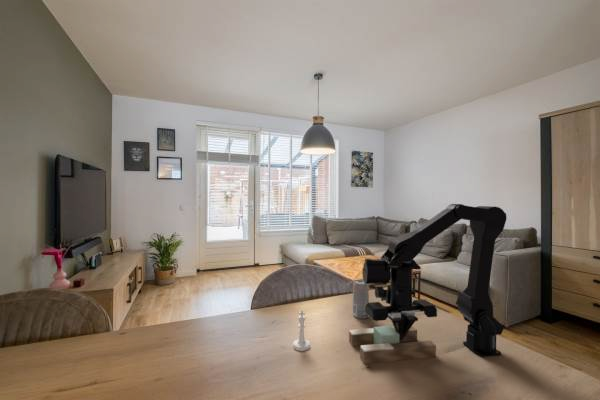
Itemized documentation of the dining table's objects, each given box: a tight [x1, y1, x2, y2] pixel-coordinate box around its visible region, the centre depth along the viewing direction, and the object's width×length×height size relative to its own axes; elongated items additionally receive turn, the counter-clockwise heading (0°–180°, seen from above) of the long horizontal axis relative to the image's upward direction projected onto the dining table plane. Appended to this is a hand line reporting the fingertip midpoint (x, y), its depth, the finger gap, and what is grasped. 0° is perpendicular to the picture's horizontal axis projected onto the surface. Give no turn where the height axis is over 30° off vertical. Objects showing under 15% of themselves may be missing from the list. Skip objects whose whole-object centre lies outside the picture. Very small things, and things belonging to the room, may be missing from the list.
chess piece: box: [292, 309, 311, 352], centre depth 74 cm, size 5×5×10 cm
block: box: [373, 325, 400, 344], centre depth 73 cm, size 5×5×5 cm
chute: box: [348, 325, 437, 365], centre depth 73 cm, size 20×11×3 cm, turn 100°
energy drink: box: [352, 279, 370, 320], centre depth 94 cm, size 5×5×12 cm
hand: (400, 340), depth 74 cm, fingers closed
